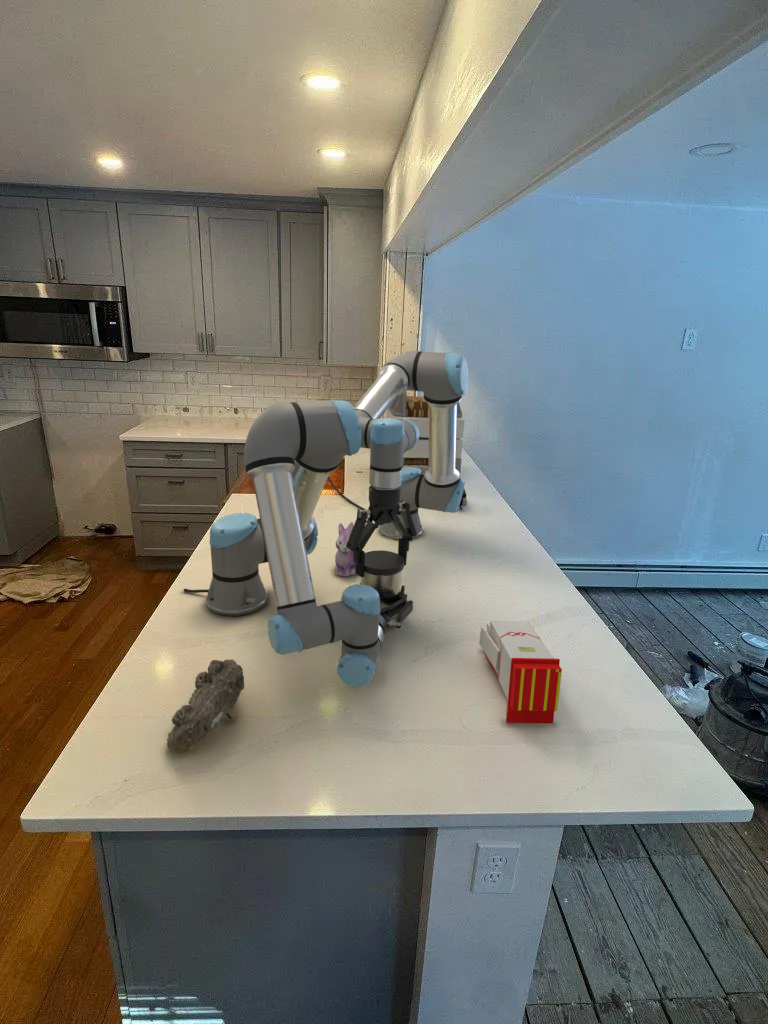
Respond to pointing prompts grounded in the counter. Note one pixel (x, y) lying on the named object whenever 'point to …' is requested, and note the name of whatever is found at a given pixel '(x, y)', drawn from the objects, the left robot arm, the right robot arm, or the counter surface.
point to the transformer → (422, 428)
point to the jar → (384, 587)
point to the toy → (523, 670)
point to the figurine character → (463, 500)
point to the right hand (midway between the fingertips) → (381, 569)
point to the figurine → (344, 552)
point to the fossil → (206, 705)
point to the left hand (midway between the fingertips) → (382, 587)
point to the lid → (383, 562)
